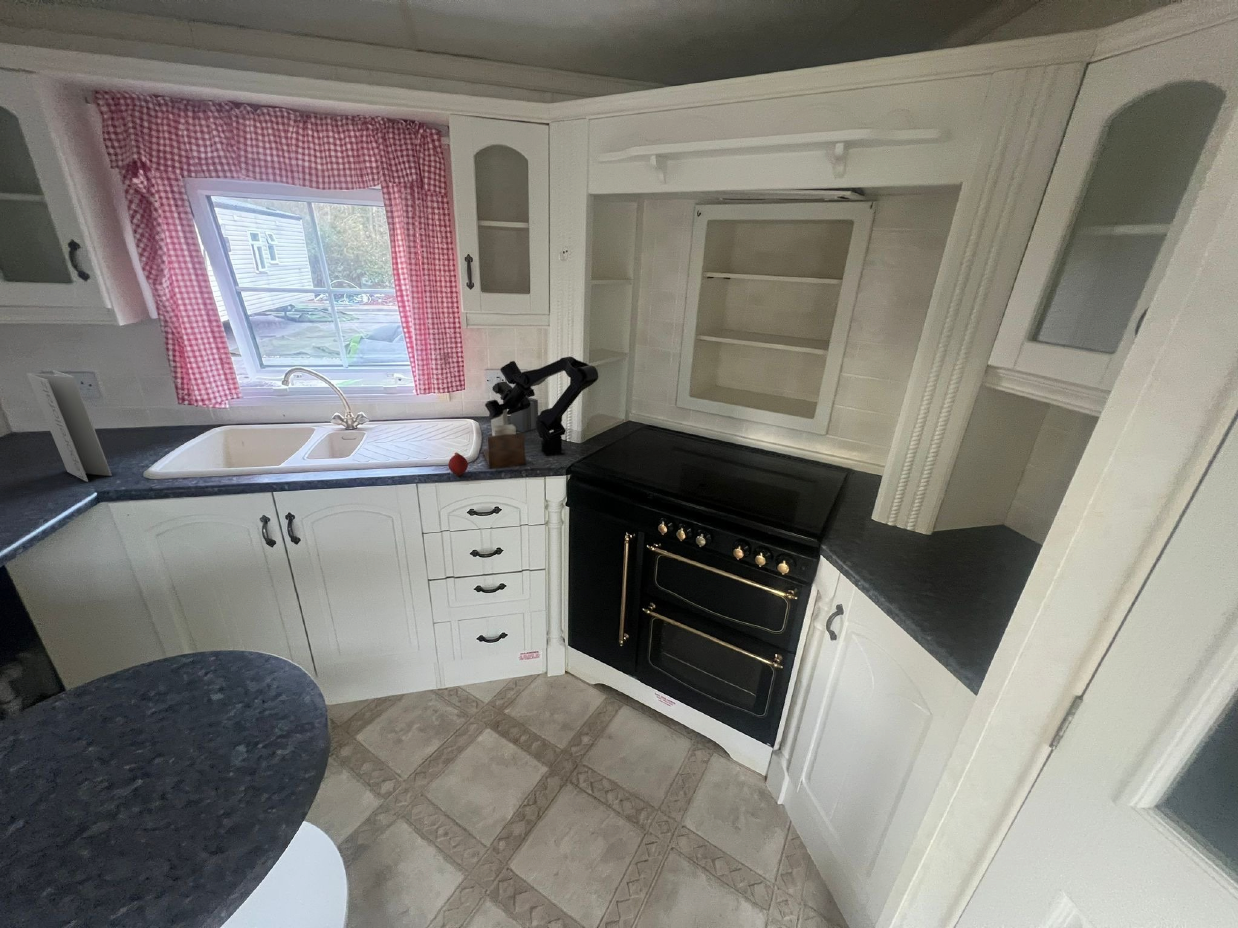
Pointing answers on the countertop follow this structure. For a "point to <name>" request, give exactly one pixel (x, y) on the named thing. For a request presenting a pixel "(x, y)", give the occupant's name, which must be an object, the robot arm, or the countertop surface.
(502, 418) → the white book
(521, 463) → the cream-topped brown block
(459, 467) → the onion
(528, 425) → the grey books
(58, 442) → the brochure
